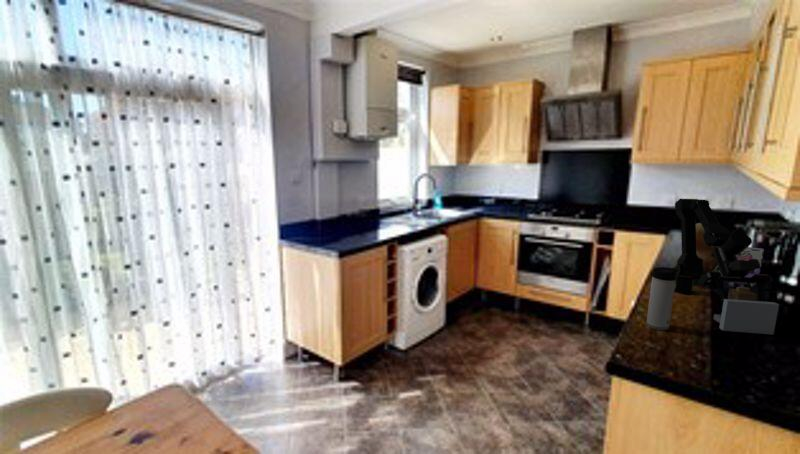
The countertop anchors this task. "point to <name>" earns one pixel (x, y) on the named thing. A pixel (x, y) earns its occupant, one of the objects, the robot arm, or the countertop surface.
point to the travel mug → (661, 298)
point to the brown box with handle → (741, 294)
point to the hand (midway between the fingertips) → (743, 303)
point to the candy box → (751, 254)
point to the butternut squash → (704, 250)
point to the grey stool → (748, 316)
